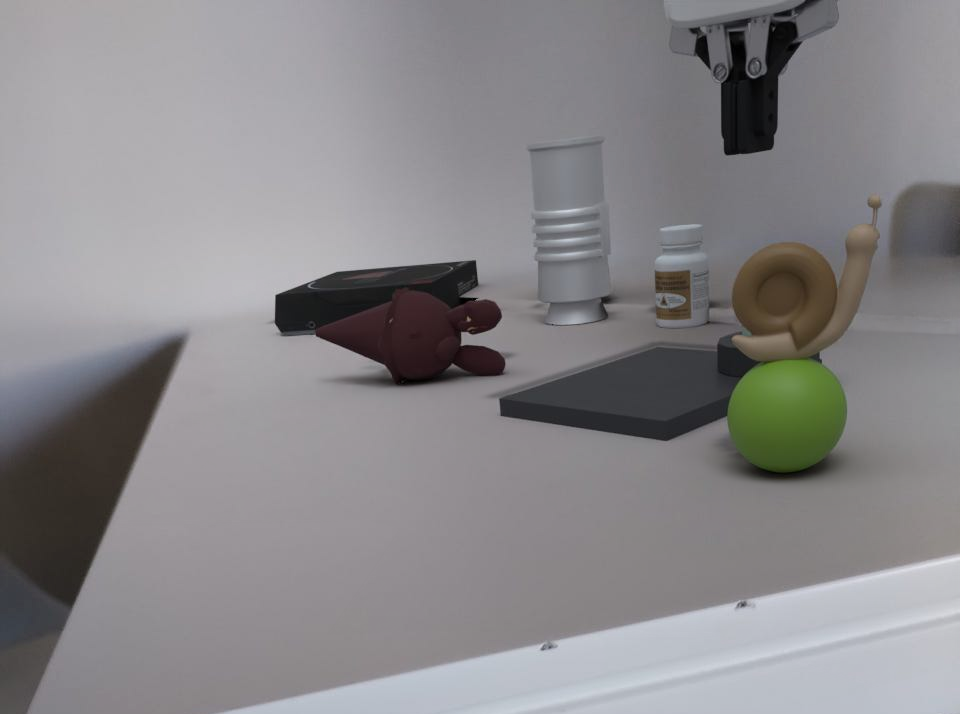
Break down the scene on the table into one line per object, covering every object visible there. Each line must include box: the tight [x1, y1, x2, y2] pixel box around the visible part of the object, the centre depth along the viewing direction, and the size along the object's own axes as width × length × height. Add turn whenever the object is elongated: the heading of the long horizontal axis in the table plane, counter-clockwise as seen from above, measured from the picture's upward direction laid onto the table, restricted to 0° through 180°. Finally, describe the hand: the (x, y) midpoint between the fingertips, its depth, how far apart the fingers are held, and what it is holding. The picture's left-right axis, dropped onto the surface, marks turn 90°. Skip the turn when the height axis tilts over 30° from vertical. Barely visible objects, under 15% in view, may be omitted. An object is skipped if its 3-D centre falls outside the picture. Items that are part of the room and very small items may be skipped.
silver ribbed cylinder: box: [525, 134, 613, 326], centre depth 92 cm, size 7×7×15 cm
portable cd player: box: [274, 259, 479, 337], centre depth 109 cm, size 16×17×4 cm
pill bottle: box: [654, 223, 710, 329], centre depth 86 cm, size 4×4×8 cm
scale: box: [498, 331, 823, 442], centre depth 64 cm, size 16×14×3 cm
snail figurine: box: [726, 193, 883, 474], centre depth 47 cm, size 5×6×12 cm
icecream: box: [314, 287, 506, 385], centre depth 77 cm, size 7×7×15 cm
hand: (749, 151), depth 64 cm, fingers closed
